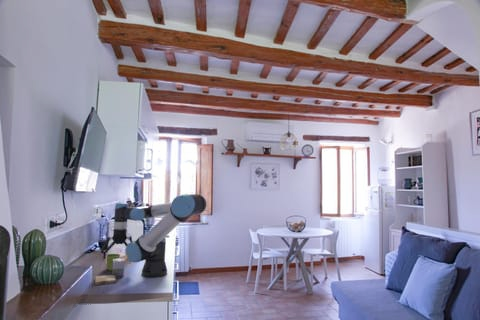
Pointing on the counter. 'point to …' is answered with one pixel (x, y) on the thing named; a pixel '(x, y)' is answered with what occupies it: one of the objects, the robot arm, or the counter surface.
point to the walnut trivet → (105, 279)
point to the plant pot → (111, 260)
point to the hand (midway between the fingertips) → (117, 263)
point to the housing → (118, 267)
